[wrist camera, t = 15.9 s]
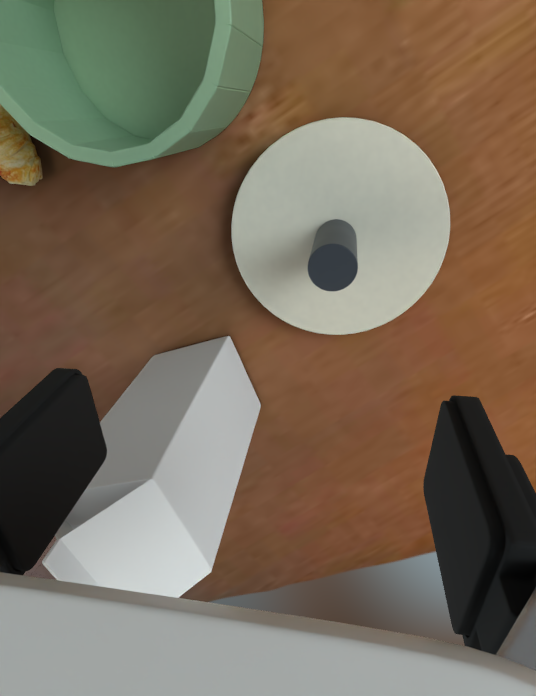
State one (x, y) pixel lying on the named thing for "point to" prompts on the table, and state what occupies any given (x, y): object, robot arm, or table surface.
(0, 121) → the croissant
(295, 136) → the lid
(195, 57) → the bowl
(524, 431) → the table surface
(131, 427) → the milk carton
